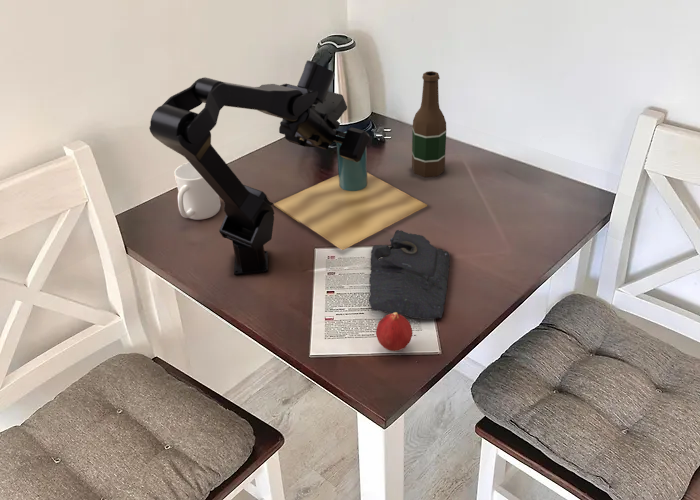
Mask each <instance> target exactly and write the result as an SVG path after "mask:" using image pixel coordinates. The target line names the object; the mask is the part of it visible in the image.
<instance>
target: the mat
mask: <svg viewBox="0 0 700 500" xmlns="http://www.w3.org/2000/svg"><path fill="white" fill-rule="evenodd" d="M367 178H368V184H367V186H366V187H365V188H364V189H362V190H358V191H347V190H344V189H342V188H341V187H340V186H339V177H338V174H337V175H334V176H332V177H330V178H328V179H325V180H324V181H321V182H319V183H316V184H315V185H312V186H309V187H307V188H305V189H303V190H301V191H299V192H297V193H294V194H292V195H290V196H287V197H285V198H283V199H281V200H279V201H277V202H273V206H274V207H275V208H277V209H278V210H280V212H283V213H284V214H285V215H287V216H289V217H290V218H292V219H293V220H294V221H296V222H297V223H298V224H302V225H304V226H306V227H307V228H309V229H310V230H312V231H313V232H314V233H316V234H317V235H318V236H321V237H322V238H324V239H325V240H326V241H328V242H329V243H330V244H332V245H333V246H335V247H337V248H338V249H340V250H341V251H344V250H346V249H348V248H350V247H352V246H353V245H356V244H357V243H359V242H361V241H363V240H365V239H367V238H369V237H371V236H372V235H375V234H377V233H379V232H380V231H382V230H385V229H386V228H388V227H391V225H394V224H396V223H398V222H399V221H401V220H403V219H406V218H407V217H409V216H411V215H413V214H416V213H417V212H418V211H420V210H422V209H424V208H426V207H428V204H427V203H425V202H422V201H421V200H419V199H417V198H416V197H413V196H411V195H410V194H408V193H406V192H404V191H402V190H400V189H398V188H397V187H395V186H393V185H391V184H390V183H388V182H386V181H384V180H382V179H380V178H379V177H377V176H375V175H372V174H371V173H370V172H367Z"/></svg>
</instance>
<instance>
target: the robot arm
mask: <svg viewBox="0 0 700 500" xmlns="http://www.w3.org/2000/svg"><path fill="white" fill-rule="evenodd" d="M335 76H336V75H335V72H334V71H333V70H332V69H329V68H327V67H325V66H324V65H323V66H322V65H321V64H318V63H317V62H316V61H313V60H306V62H305V64H304V68H303V71H302V73H301V76H300V78H299V80H298V83H297V85H294V84H290V83H282V84H276V83H267V84H265V83H264V84H261V85H259V86H250V85H244V84H237V83H231V82H226V81H221V80H218V79H213V78H210V77H206V76H204V77H200V78H197V79H196V80H195V81H194V82H193V83H192V84H191V85H190V86H189V87H187V88H185V89H183V90H180V91H179V92H177V93H175V94H173V95H172V96H170V97H168V98H167V100H166V101H164V102H163V103H162V104H161V105H160V106H158V107H157V108H156V109H155V110H154V112H153V113H152V115H151V118H150V121H149V132H150V133H151V135H152V137H153V138H154V139H156V140H157V141H159V142H160V143H162V144H163V145H164V146H165V147H166V148H169V149H171V150H172V151H173V152H175V153H177V154H178V155H179V154H180V155H181V156H182V157H184V158H185V159H186V160H187V161H188V162H190V163H191V165H192V166H193V167H194V168H195V169H196V170H197V171H198V173H199V174H200V175H201V176H202V177H203V178H204V179H205V181H206V182H207V183H208V184H209V185H210V186H211V187H212V189H213V190H214V191H215V192H216V193H217V194H218V195H219V198H220V200H222V201H223V211H224V213H225V216H224V218H223V221H222V223H221V226H220V228H219V233H220V236H221V237H222V238H224V239H228V240H230V241H231V242H232V247H233V253H234V266H233V275H234V276H242V275H243V276H244V275H253V274H262V273H268V272H269V252H268V250H265V247H264V245H266V244H267V243H268V242H270V241H271V240H272V238H273V229H274V222H275V210H274V208H273V206H274V202H272V201H270V200H269V198H268V196H267V194H266V193H265V192H264V191H263V190H260V189H257V188H254V187H251V186H249V185H246V184H243V183H242V181H241V179H239V177H238V176H237V175H236V174H235V172H234V171H233V170H232V169H231V167H230V166H229V165H228V163H227V162H226V161H225V160H224V159H223V158H222V156H221V155H220V154H219V153H218V151H217V150H216V148H214V146H213V145H212V130H213V129H214V128H215V127H216V125H217V123H218V119H219V116H220V112H221V110H222V109H223V108H224V107H230V108H238V109H246V110H254V111H258V112H261V113H263V114H266V115H268V116H272V117H276V118H279V119H282V120H281V121H280V122H279V127H278V132H279V134H281V135H284V139H285V140H286V141H288V142H289V143H292V144H295V145H298V146H301V147H305V148H319V149H322V150H326V151H327V150H328V149H329V146H330V145H332V144H333V142H334V143H336V142H337V143H340V144H341V147H340V149H339V153H340V156H341V157H343V158H344V159H347V160H351V161H354V162H359V161H360V160H361V158H362V155H363V153H364V151H365V148H366V146H367V145H368V143H369V141H370V139H371V138H370V137H371V136H370V134H369V133H368V132H367V131H366V130H363V129H359V128H356V127H352V126H350V128H348V129H346V131H341V130H338V129H339V128H340V126H341V122H340V121H338V120H340V119H341V117H342V116H343V114H344V113H345V112H346V111H347V110H348V105H347V103H346V100H345V97H344V95H343V94H340V93H337V92H333V91H330V88H331V85H332V83H333V80H334V79H335ZM203 103H204V104H205V105H204V107H203V109H202V110H201V111H199V113H197V112H194V111H192V110H194V109H195V108H198V107H200V106H201V105H202V104H203ZM344 132H346V133H344ZM339 136H340V137H339ZM367 147H368V146H367Z"/></svg>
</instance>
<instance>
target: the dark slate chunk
mask: <svg viewBox="0 0 700 500" xmlns="http://www.w3.org/2000/svg"><path fill="white" fill-rule="evenodd" d="M370 253H371V255H370V273H369V297H368V302H369V306H370V308H371V309H372V310H373V311H379V312H384V313H387V314H391V313H395V312H397V314H400V315H402V316H406V317H409V318H414V319H422V320H428V321H429V320H435V319H442V317H443V314H444V309H445V303H446V297H447V290H448V279H449V275H450V274H449V273H450V270H449V269H450V260H451V259H450V258H451V255H450V252H449V251H447V250H444V249H442V248H436V247H435V246H434V245H433V244H431V241H430V240H429V239H427V238H426V237H425V236H424V235H422V234H418V233H417V234H416V233H411V232H410V233H408V232H406V231H403V230H400V229H397V230H395V232H394V234H393V236H392V237H391V238H390V246H389V245H388V244H375V245H372V249H371V250H370Z"/></svg>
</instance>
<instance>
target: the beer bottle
mask: <svg viewBox="0 0 700 500" xmlns="http://www.w3.org/2000/svg"><path fill="white" fill-rule="evenodd" d="M421 78H422V80H423V83H422V94H421V103H420V108H419V109H418V110H417V111H416V113H415V114H414V117H413V120H412V128H411V129H412V134H411V135H412V137H411V168H412V171H413V174H414V175H416V176H419V177H422V178H433V177H438V176H440V175H441V174H443V172H445V166H446V149H447V147H446V146H447V122H446V117H445V116H444V113H443V111H442V110H441V107H440V100H439V98H440V97H439V96H440V95H439V80H440V79H441V78H440V75H439V72H437V71H434V70H430V71H429V70H428V71H425V72H424V73H423V74H422V77H421Z"/></svg>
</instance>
